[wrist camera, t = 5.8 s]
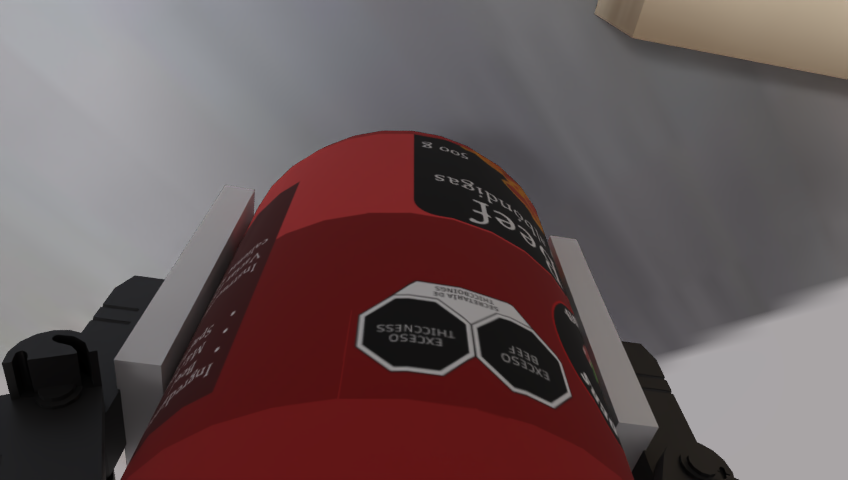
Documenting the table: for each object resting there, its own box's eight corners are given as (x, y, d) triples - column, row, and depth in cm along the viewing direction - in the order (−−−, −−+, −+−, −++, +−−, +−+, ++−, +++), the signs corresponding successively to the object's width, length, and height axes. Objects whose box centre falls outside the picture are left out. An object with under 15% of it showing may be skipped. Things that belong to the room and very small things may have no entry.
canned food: (568, 310, 18) (736, 790, 8) (328, 379, 19) (240, 856, 10) (494, 71, 14) (645, 455, 5) (202, 178, 15) (-135, 641, 6)
